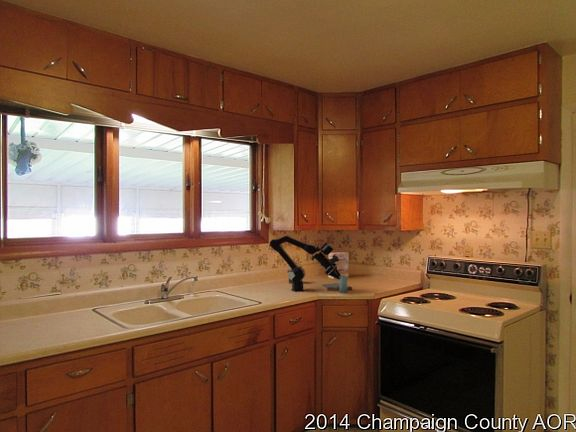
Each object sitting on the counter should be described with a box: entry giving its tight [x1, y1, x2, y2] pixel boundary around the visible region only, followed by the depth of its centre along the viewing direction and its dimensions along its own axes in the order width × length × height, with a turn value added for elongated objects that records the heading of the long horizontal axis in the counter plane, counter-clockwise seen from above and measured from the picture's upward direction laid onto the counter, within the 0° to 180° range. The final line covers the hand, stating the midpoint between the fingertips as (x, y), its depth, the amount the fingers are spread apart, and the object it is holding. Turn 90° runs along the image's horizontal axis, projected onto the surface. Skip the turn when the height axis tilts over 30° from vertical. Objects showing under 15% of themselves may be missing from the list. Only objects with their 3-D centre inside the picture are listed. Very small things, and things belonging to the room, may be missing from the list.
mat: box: [321, 282, 339, 288], centre depth 274 cm, size 12×12×1 cm
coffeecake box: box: [327, 251, 350, 280], centre depth 311 cm, size 15×7×20 cm, turn 119°
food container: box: [286, 268, 303, 285], centre depth 287 cm, size 12×6×10 cm, turn 84°
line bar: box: [326, 285, 353, 292], centre depth 261 cm, size 16×2×2 cm, turn 96°
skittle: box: [338, 276, 348, 294], centre depth 254 cm, size 5×5×10 cm
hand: (340, 277), depth 255 cm, fingers open, 9 cm apart
